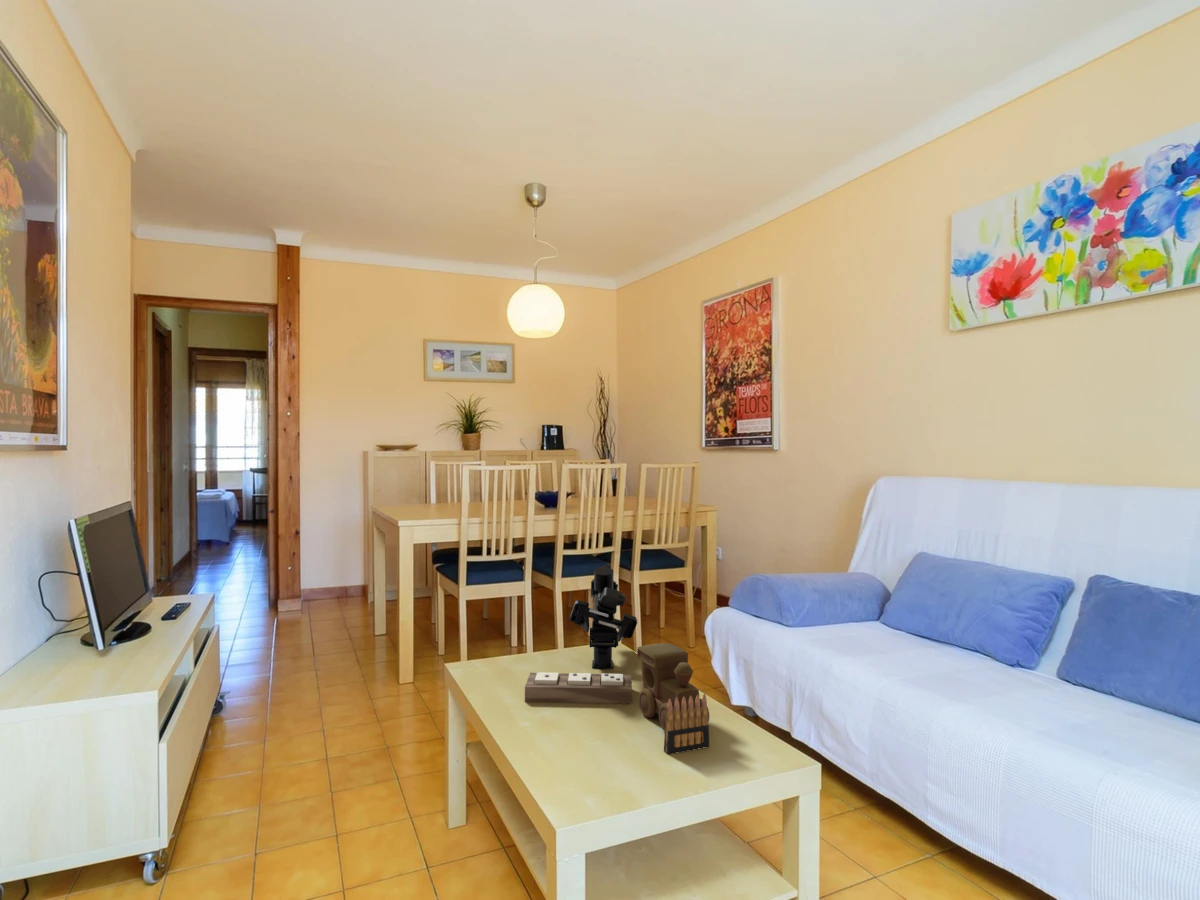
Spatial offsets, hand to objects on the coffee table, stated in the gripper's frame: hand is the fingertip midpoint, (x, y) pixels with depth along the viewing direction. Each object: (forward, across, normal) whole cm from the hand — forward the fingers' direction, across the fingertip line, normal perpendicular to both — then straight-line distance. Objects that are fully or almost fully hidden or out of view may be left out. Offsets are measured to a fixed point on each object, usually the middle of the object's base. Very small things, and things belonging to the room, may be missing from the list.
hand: (603, 635), depth 177 cm
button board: (+4, -1, +17) cm, 18 cm away
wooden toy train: (+20, +20, +6) cm, 29 cm away
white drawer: (+3, -11, +18) cm, 21 cm away
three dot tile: (+4, +7, +12) cm, 14 cm away
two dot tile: (+4, -2, +15) cm, 16 cm away
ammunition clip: (+35, +20, +1) cm, 40 cm away
